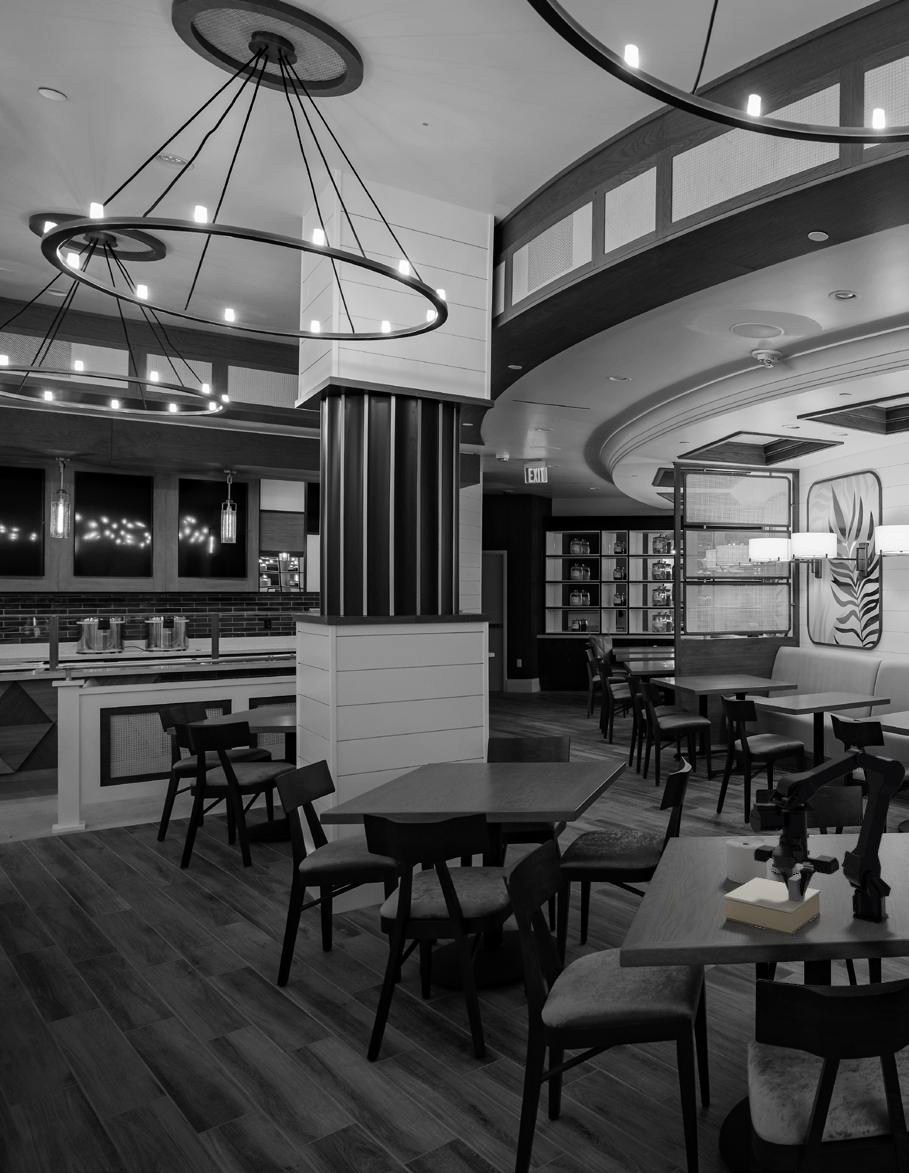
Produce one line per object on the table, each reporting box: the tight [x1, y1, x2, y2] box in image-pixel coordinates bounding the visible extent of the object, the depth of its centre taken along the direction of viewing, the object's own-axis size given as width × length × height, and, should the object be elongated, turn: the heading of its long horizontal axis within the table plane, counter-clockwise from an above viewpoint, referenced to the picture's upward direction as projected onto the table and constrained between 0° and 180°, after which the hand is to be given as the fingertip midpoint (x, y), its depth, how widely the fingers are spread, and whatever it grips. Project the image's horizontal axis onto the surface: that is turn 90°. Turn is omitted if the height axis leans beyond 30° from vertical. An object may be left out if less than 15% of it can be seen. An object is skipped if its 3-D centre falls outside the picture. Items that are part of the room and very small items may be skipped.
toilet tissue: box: [725, 837, 768, 884], centre depth 239 cm, size 11×12×10 cm
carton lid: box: [724, 873, 821, 913], centre depth 209 cm, size 16×18×6 cm
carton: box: [725, 893, 821, 936], centre depth 209 cm, size 16×18×5 cm
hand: (796, 894), depth 205 cm, fingers open, 3 cm apart
